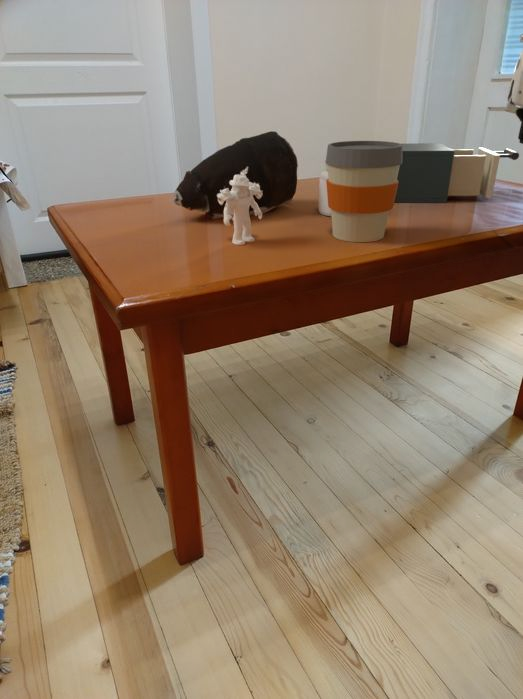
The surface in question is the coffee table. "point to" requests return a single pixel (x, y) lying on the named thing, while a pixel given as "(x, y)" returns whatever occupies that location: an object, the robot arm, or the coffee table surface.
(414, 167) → the cabinet
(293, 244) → the coffee table surface
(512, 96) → the robot arm
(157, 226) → the coffee table surface
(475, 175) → the drawer
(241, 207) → the flower shoulder figurine
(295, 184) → the dark brown rounded shape
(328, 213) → the eye dropper bottle
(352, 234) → the reusable coffee cup
